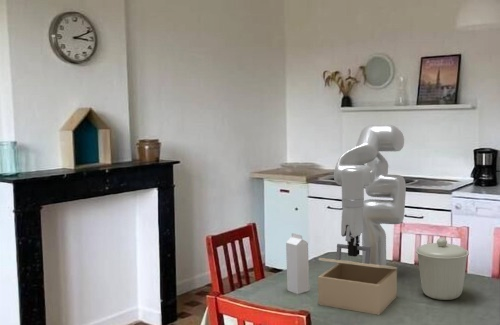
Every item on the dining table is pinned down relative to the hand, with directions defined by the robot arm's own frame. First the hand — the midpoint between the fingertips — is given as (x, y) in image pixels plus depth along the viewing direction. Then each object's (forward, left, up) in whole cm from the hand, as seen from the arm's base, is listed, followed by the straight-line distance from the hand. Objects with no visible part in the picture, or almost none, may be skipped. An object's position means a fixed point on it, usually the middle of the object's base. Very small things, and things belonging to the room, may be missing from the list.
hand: (353, 254), depth 192 cm
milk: (-4, -24, -18) cm, 30 cm away
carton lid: (-4, 0, -5) cm, 6 cm away
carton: (-4, 0, -18) cm, 18 cm away
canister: (-22, +25, -18) cm, 38 cm away
